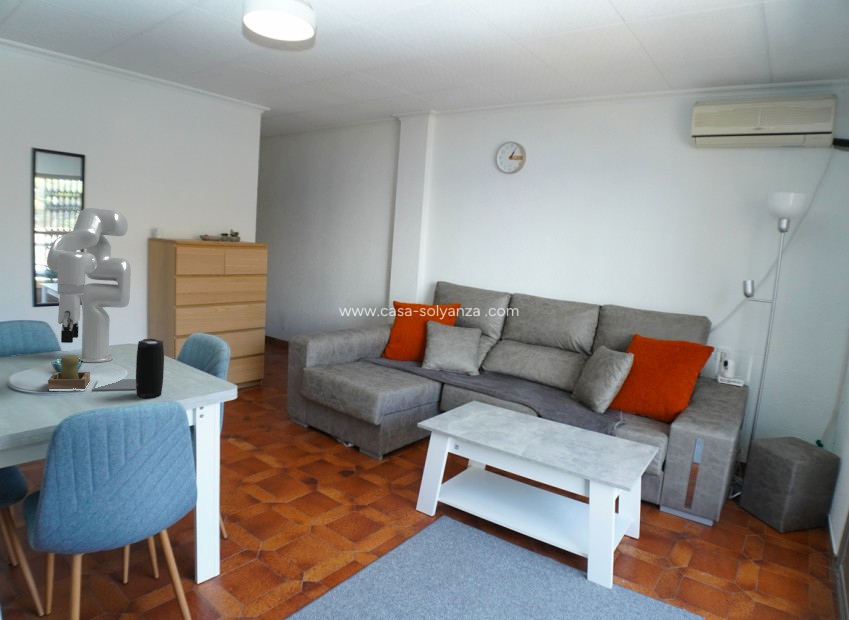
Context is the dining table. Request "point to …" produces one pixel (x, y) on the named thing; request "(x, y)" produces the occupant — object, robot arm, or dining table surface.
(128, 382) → the charcoal mat
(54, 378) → the walnut holder
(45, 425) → the dining table surface
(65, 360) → the olive bottle
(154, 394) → the portable speaker
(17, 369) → the dining table surface
